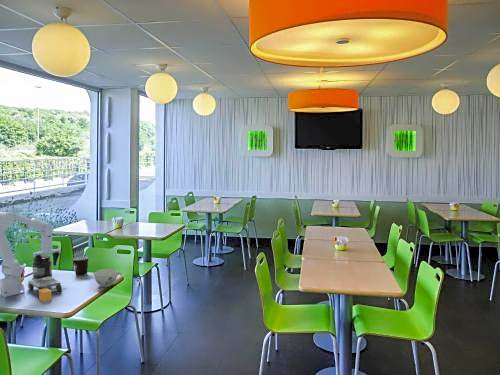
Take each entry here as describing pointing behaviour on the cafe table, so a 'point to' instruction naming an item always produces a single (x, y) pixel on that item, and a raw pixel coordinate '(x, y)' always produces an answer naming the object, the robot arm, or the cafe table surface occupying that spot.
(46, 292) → the chock
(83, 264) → the coffee mug
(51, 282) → the trolley
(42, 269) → the supplement container
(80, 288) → the cafe table surface
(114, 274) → the teacup
